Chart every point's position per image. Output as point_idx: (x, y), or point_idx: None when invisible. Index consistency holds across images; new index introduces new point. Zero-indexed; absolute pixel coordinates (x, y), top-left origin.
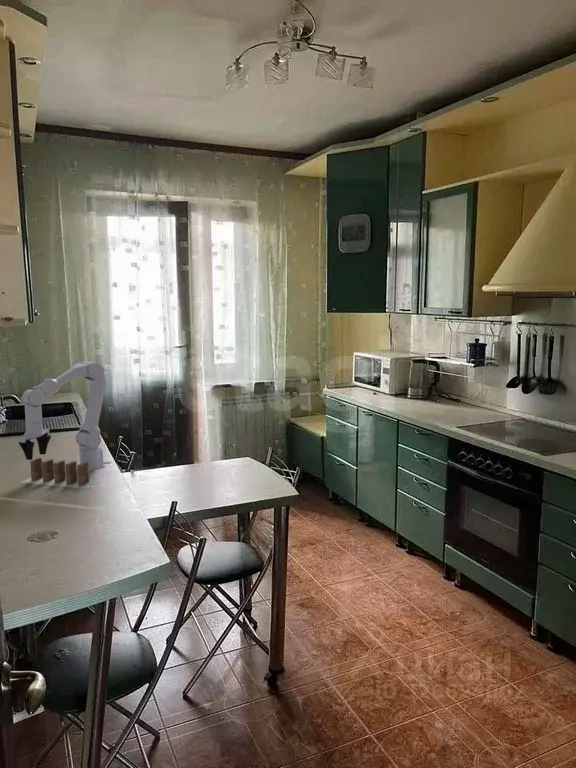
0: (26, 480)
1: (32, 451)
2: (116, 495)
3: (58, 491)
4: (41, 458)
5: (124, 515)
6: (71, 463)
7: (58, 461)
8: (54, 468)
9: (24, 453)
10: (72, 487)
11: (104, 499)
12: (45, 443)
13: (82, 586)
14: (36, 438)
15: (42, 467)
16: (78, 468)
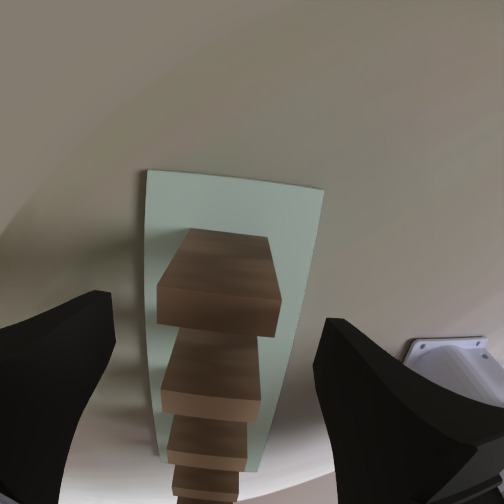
0: (188, 193)
1: (76, 413)
2: (160, 499)
3: (121, 396)
4: (270, 337)
5: (78, 501)
6: (193, 497)
7: (211, 458)
8: (172, 425)
9: (47, 313)
10: (156, 434)
11: (125, 487)
12: (340, 474)
13: None
14: (434, 436)
15: (168, 362)
16: (177, 500)
